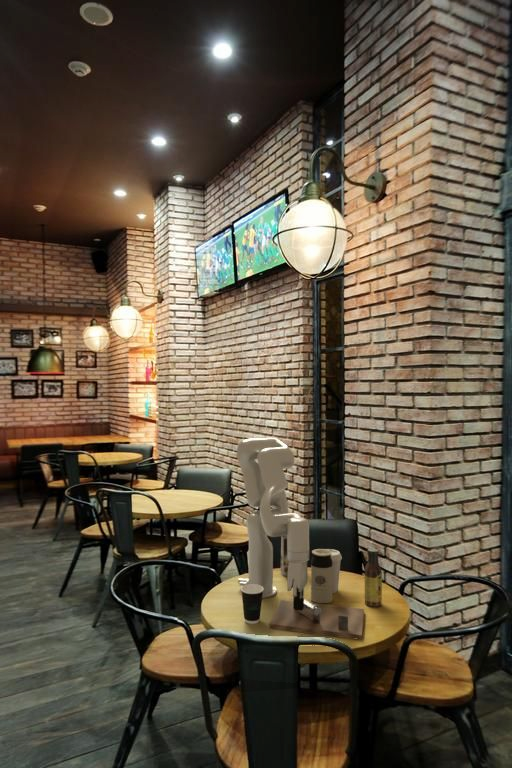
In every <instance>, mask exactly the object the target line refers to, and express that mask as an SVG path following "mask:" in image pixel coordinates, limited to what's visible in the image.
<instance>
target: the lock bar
mask: <svg viewBox="0 0 512 768" xmlns="http://www.w3.org/2000/svg"><path fill="white" fill-rule="evenodd" d="M292 601H293V608H294V599H293V598H292ZM313 604H314V603H313ZM313 604H311V602H309V601H308V600H306V599H305V598H304V609H303V610H302V611H300V610H297V611H299V612H300V613H302V614H303V615H305V616H306V617H308V618H309V619H311V620H312V621H313V622H315V623H319V622H320V607H319V606H314V605H313Z"/></svg>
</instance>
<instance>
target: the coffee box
mask: <svg viewBox="0 0 512 768" xmlns="http://www.w3.org/2000/svg"><path fill="white" fill-rule="evenodd" d="M280 537H281V538H280V539H281V540H280V542H281V543H280V545H281V546H280V573H281V575H282V576H283V577H288V565H289V560H288V559H287V535H286V536H280Z"/></svg>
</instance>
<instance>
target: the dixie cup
mask: <svg viewBox="0 0 512 768" xmlns="http://www.w3.org/2000/svg"><path fill="white" fill-rule="evenodd" d="M263 590H264V588H263V587H262V586H260V585H256V584H248V585H244V586H241V588H240V591H241V599H242V610H243V618H244V622H245V623H247V624H249V625H255V624H258V623H260V618H261V611H262V603H263V602H262V601H263V598H262V595H263Z"/></svg>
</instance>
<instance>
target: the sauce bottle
mask: <svg viewBox="0 0 512 768" xmlns="http://www.w3.org/2000/svg"><path fill="white" fill-rule="evenodd" d="M379 554H380V553H379V550H378V548H377V549H376V548H368V549H367V563H366V565H365V568H364V603H365V605H366V606H368V607H374V608H375V607H376V608H377V607H380V606H381V605H382V600H383V591H382V590H383V588H382V587H383V584H382V583H383V579H382V578H383V576H382V573H383V572H382V569H381V566H380V563H379Z"/></svg>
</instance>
